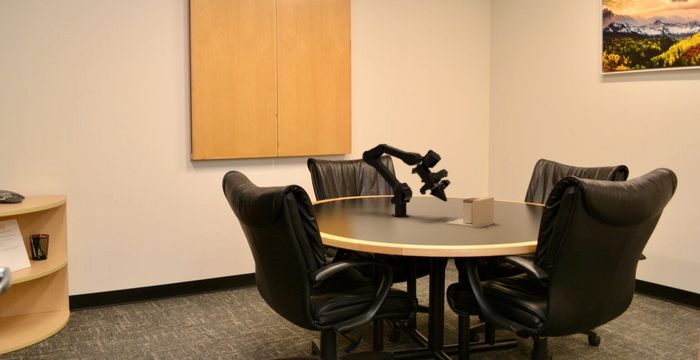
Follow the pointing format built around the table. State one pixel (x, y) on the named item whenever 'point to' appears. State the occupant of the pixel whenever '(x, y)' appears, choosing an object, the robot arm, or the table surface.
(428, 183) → the robot arm
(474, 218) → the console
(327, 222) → the table surface
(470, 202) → the brown topped beige block
